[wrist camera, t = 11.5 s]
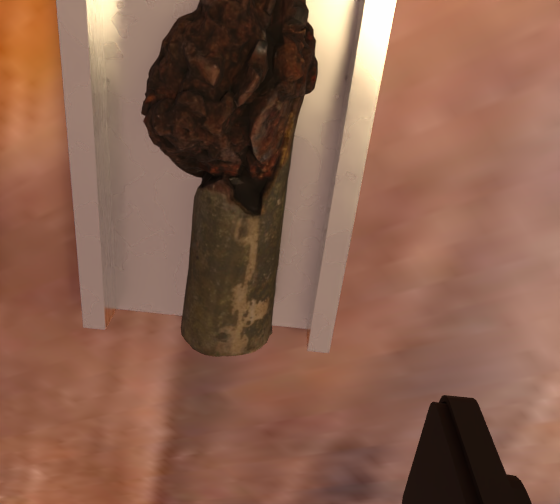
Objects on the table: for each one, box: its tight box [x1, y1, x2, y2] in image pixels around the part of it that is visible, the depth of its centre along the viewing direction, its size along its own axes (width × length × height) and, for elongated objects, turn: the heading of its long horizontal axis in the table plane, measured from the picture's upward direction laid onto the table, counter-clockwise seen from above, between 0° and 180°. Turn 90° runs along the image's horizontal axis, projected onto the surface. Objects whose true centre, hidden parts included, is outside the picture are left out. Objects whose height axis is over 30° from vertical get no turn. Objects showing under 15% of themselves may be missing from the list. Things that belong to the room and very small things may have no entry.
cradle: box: [56, 0, 396, 353], centre depth 26 cm, size 20×13×3 cm
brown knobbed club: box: [141, 0, 318, 357], centre depth 24 cm, size 18×7×6 cm, turn 172°
